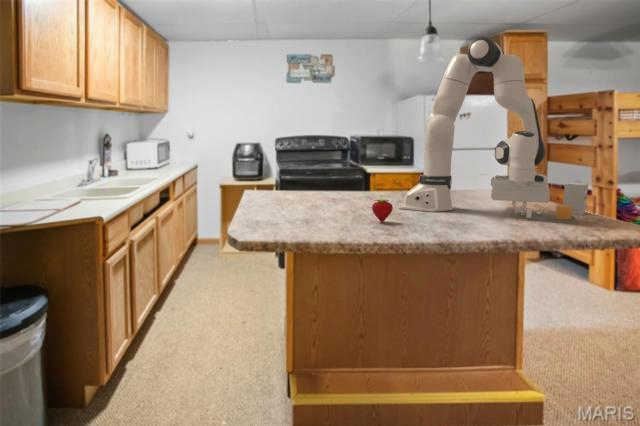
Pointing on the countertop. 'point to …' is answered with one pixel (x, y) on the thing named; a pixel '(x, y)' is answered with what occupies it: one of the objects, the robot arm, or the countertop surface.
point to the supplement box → (576, 197)
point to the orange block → (563, 212)
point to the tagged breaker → (529, 213)
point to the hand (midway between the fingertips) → (518, 213)
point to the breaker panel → (545, 218)
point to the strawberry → (382, 209)
